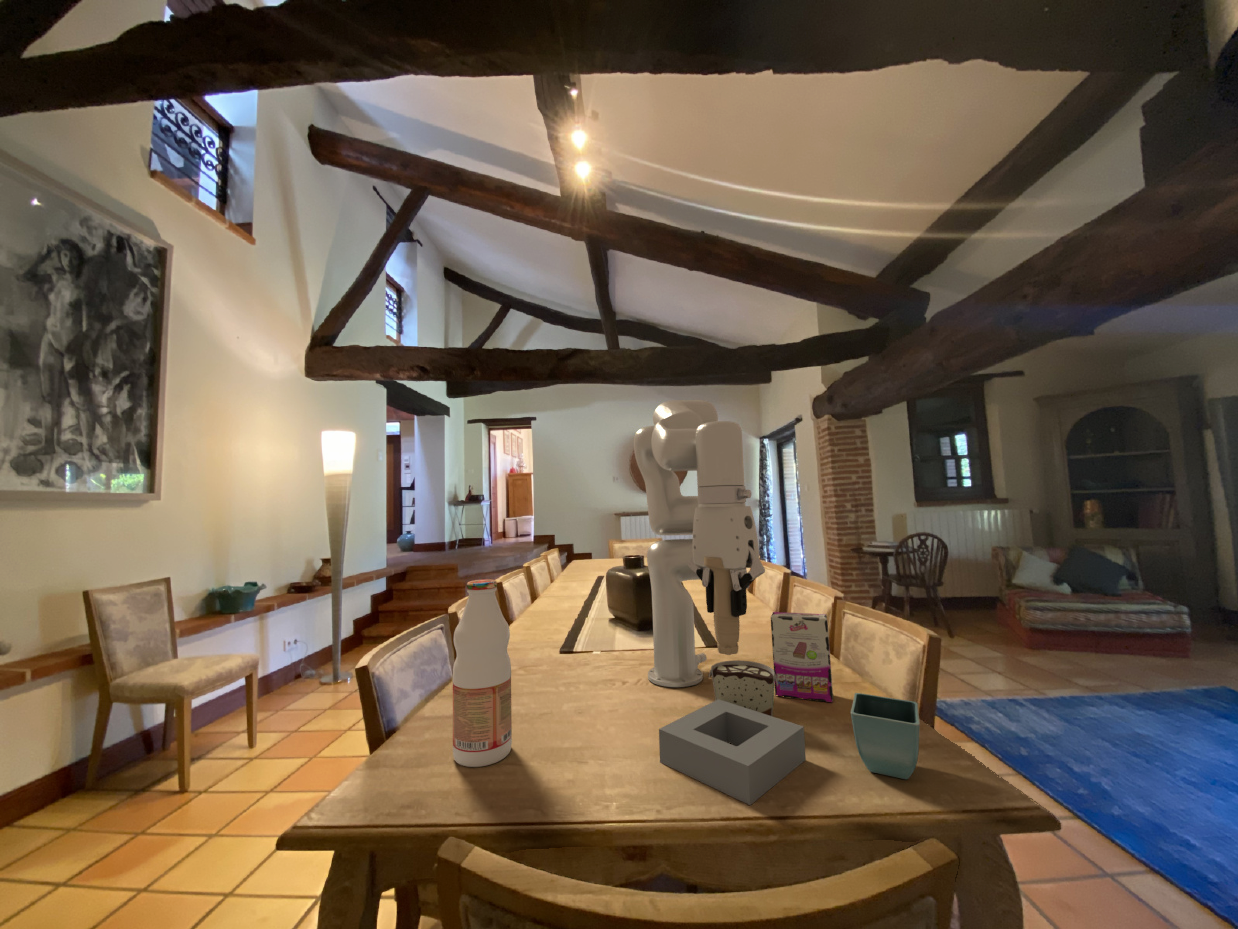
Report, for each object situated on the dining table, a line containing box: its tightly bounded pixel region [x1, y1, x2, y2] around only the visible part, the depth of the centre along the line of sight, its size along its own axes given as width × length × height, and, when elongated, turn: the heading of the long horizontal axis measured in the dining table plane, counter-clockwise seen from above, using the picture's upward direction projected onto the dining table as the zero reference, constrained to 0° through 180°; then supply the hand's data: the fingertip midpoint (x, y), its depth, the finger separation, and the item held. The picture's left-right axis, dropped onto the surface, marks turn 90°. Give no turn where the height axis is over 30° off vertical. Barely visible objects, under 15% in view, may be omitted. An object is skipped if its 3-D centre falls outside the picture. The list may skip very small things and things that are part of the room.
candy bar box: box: [770, 611, 834, 703], centre depth 102 cm, size 11×5×16 cm, turn 68°
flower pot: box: [850, 692, 921, 780], centre depth 74 cm, size 9×9×9 cm
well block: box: [658, 699, 807, 806], centre depth 77 cm, size 16×16×5 cm
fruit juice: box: [452, 578, 513, 768], centre depth 82 cm, size 9×9×28 cm
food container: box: [708, 659, 778, 717], centre depth 91 cm, size 12×6×10 cm, turn 65°
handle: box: [704, 557, 741, 656], centre depth 79 cm, size 5×6×15 cm
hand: (726, 612), depth 79 cm, fingers closed on handle, 3 cm apart
